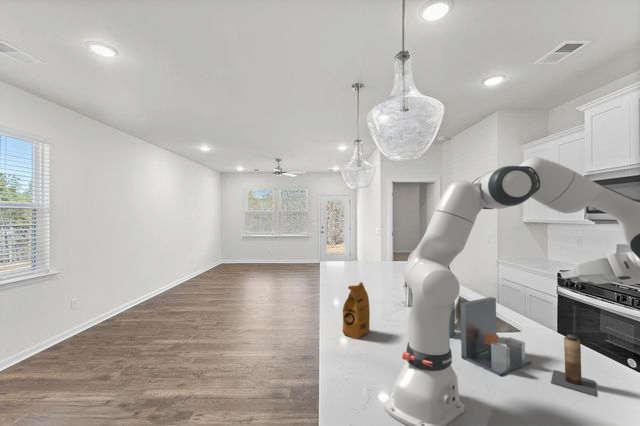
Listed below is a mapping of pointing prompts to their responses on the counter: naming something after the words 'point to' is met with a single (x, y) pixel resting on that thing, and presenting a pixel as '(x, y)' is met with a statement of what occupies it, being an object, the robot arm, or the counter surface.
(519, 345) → the grey l-shaped stand
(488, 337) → the breaker toggle
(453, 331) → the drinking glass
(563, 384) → the bar
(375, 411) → the counter surface
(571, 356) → the brown bottle
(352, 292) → the coffee package
